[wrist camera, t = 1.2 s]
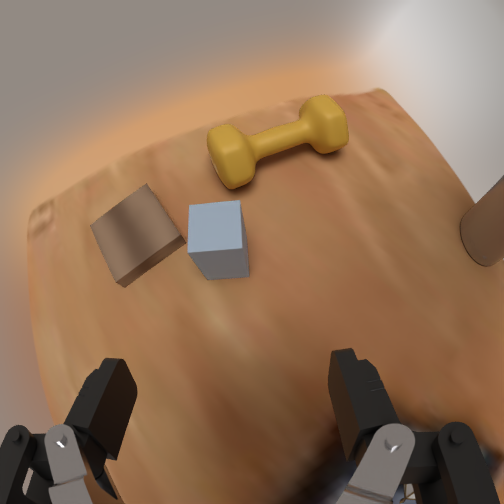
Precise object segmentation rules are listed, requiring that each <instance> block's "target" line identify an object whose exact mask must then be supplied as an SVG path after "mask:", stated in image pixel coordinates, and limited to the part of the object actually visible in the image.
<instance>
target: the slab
mask: <svg viewBox="0 0 504 504" xmlns="http://www.w3.org/2000/svg"><path fill="white" fill-rule="evenodd" d="M90 227H91V229H92V231H93V234H94V236H95V238H96V241H97V243H98V245H99V248H100V250H101V252H102V254H103V257H104V259H105V261H106V263H107V265H108V267H109V269H110V271H111V274H112V276H113V278H114V280H115V282H116V283H118V284H120V285H121V286H123V287H127V286H128V285H129V284H131V283H132V282H133V281H135V280H136V279H137V278H139V277H140V276H141V275H143V274H144V273H145V272H147V271H148V270H149V269H151V268H152V267H154V266H155V265H156V264H158V263H159V262H160V261H162V260H163V259H165V258H166V257H167V256H169V255H170V254H172V253H173V252H174V251H176V250H177V249H179V248H180V247H181V246H183V245H184V244H186V242H185V240H184V239H183V237H182V236H181V234H180V233H179V231H178V230H177V228H176V227H175V225H174V224H173V222H172V221H171V219H170V218H169V216H168V215H167V213H166V212H165V210H164V209H163V207H162V206H161V204H160V203H159V201H158V200H157V198H156V197H155V195H154V194H153V192H152V191H151V189H150V188H149V186H148V185H147V183H146V184H145V185H144V186H142V187H141V188H139V189H138V190H136V191H135V192H134V193H132V194H131V195H129V196H128V197H127V198H125V199H124V200H123V201H121V202H120V203H119V204H117V205H116V206H114V207H113V208H112V209H111V210H109V211H108V212H107V213H105V214H104V215H103V216H101V217H100V218H99V219H98V220H96V221H95V222H94V223H93V224H91V225H90Z"/></svg>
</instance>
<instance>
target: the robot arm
mask: <svg viewBox="0 0 504 504" xmlns="http://www.w3.org/2000/svg"><path fill="white" fill-rule="evenodd" d="M460 230H461V237H462V240H463V243H464V246H465V248H466V250H467V251H468V253H469V254H470V256H471V257H472V258H473V259H474V260H475V261H476V262H478V263H479V264H481V265H484V266H491V265H493V264H495V263H497V262H498V261H500V260H502V259H503V258H504V175H503V176H502V178H501V179H500V180H499V181H498V182H497V183H496V184H495V185H494V186H493V187H492V188H491V189H490V190H489V191H488V192H487V193H486V194H485V195H484V196H483V197H482V198H481V199H480V200H479V201H478V202H477V203H476V204H475V205H474V206H473V207H472V208H471V209H470V210H469V211H468V212H467V213H466V214H465V215H464V216H463V218H462V220H461V225H460ZM328 388H329V393H330V397H331V401H332V405H333V409H334V412H335V416H336V420H337V424H338V428H339V432H340V436H341V440H342V444H343V448H344V452H345V457H346V461H347V462H348V461H352V460H355V461H356V464H357V469H356V471H355V473H354V475H353V476H352V478H351V480H350V482H349V483H348V485H347V487H346V488H345V490H344V491H343V493H342V495H341V496H340V498H339V499H338V501H337V502H336V504H393V501H392V499H393V496H394V494H395V492H396V489H397V487H398V485H399V484H412V487H413V491H414V495H415V499H416V503H417V504H500V501H499V498H498V495H497V492H496V489H495V486H494V483H493V480H492V478H491V475H490V472H489V470H488V467H487V465H486V462H485V460H484V457H483V455H482V452H481V450H480V448H479V445H478V443H477V441H476V438H475V436H474V434H473V432H472V430H471V429H470V427H469V426H467V425H466V424H464V423H462V422H451V423H448V424H447V425H445V426H444V427H443V428H442V429H441V431H440V432H414V431H411V430H410V429H409V428H408V427H406V426H404V425H402V424H401V423H400V421H399V419H398V417H397V415H396V412H395V410H394V408H393V405H392V403H391V401H390V398H389V396H388V394H387V392H386V389H384V385H383V383H382V380H380V376H379V374H378V372H377V369H376V367H374V366H373V365H372V364H371V363H370V362H369V361H368V360H367V359H364V360H359V361H358V360H357V358H356V355H355V353H354V351H353V349H352V348H348V349H342V350H335V351H332V352H331V359H330V367H329V375H328ZM136 398H137V386H136V383H135V381H134V379H133V377H132V375H131V373H130V371H129V369H128V366H127V364H126V362H125V361H124V360H123V359H116V358H105V359H104V360H103V362H102V364H101V365H100V367H99V369H95V370H94V371H93V372H92V373H91V374H90V375H89V376H88V377H87V378H86V380H85V382H84V384H83V386H82V388H81V390H80V392H79V396H77V398H76V400H75V402H74V404H73V406H72V408H71V410H70V412H69V414H68V416H67V418H66V420H65V422H64V424H59V425H55V426H53V427H52V428H50V429H49V430H48V432H47V433H46V434H31V433H30V432H29V430H28V429H27V428H26V427H24V426H22V425H16V426H14V427H12V428H11V429H9V431H8V432H7V434H6V436H5V438H4V440H3V442H2V445H1V447H0V504H125V503H124V502H123V500H122V498H121V496H120V494H119V492H118V490H117V488H116V486H115V484H114V482H113V480H112V478H111V475H110V473H109V471H108V469H107V467H106V465H105V461H106V458H107V459H111V460H116V461H117V457H118V454H119V451H120V447H121V444H122V441H123V438H124V435H125V431H126V428H127V425H128V422H129V419H130V416H131V413H132V410H133V407H134V404H135V401H136ZM28 468H30V469H32V470H33V475H32V477H31V480H30V484H29V487H28V490H27V493H26V495H24V493H23V490H22V486H23V483H24V480H25V477H26V474H27V471H28Z"/></svg>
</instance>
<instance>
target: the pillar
mask: <svg viewBox="0 0 504 504" xmlns="http://www.w3.org/2000/svg"><path fill="white" fill-rule="evenodd" d="M188 254H189V255H190V257H191V258H192V259H193V261H194V262H195V264H196V265H197V266H198V268H199V269H200V270H201V272H202V273H203V274H204V276H205V277H206V278H207V280H215V279H229V278H243V277H249V263H248V246H247V235H246V230H245V225H244V220H243V214H242V209H241V204H240V200H236V201H226V202H216V203H206V204H197V205H189V224H188Z"/></svg>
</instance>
